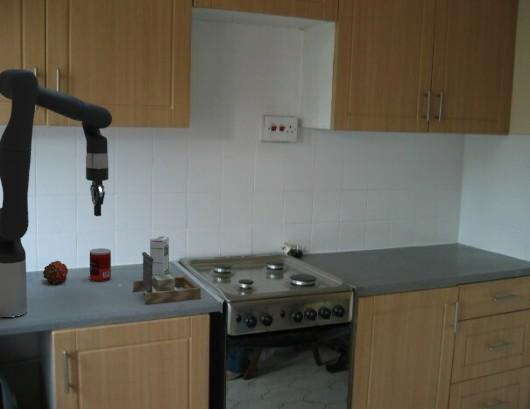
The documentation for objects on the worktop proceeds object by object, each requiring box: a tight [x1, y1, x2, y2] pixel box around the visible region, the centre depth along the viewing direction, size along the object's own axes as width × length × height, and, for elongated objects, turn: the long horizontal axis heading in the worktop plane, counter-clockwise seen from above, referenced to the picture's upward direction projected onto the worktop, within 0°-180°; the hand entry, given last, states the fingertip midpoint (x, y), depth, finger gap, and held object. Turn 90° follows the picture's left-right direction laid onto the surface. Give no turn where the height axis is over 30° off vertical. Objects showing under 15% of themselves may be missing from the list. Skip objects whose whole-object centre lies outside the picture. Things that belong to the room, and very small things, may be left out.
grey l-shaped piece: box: [141, 251, 179, 293], centre depth 221 cm, size 11×9×15 cm
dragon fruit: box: [42, 260, 69, 284], centre depth 236 cm, size 8×8×12 cm
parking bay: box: [132, 276, 202, 305], centre depth 223 cm, size 19×16×4 cm
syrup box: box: [149, 235, 170, 276], centre depth 251 cm, size 6×6×14 cm
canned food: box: [89, 247, 112, 283], centre depth 241 cm, size 8×8×11 cm
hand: (97, 215), depth 223 cm, fingers closed
